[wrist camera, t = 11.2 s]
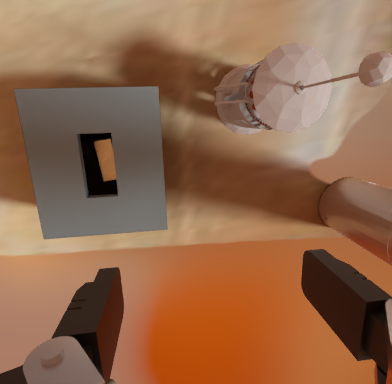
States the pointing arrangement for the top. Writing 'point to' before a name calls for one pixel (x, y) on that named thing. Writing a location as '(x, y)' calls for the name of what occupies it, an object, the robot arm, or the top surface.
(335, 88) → the top surface
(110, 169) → the wooden block
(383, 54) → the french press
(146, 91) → the box
